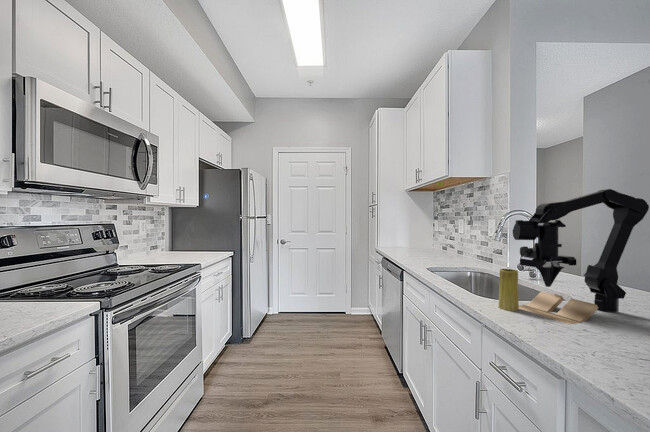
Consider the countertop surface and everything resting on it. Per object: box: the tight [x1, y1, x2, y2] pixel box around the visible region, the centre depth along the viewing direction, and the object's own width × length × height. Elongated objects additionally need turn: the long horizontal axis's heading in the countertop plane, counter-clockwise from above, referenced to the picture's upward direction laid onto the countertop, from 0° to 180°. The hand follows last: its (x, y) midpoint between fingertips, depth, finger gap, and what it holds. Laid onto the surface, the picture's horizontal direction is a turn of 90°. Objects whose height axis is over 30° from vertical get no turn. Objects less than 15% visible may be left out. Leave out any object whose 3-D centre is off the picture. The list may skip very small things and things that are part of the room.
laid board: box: [519, 304, 583, 325], centre depth 105 cm, size 5×20×2 cm, turn 17°
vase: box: [498, 268, 520, 312], centre depth 110 cm, size 6×6×14 cm
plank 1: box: [526, 291, 565, 313], centre depth 111 cm, size 8×8×1 cm
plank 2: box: [556, 298, 598, 323], centre depth 101 cm, size 8×8×1 cm
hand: (547, 286), depth 112 cm, fingers closed
